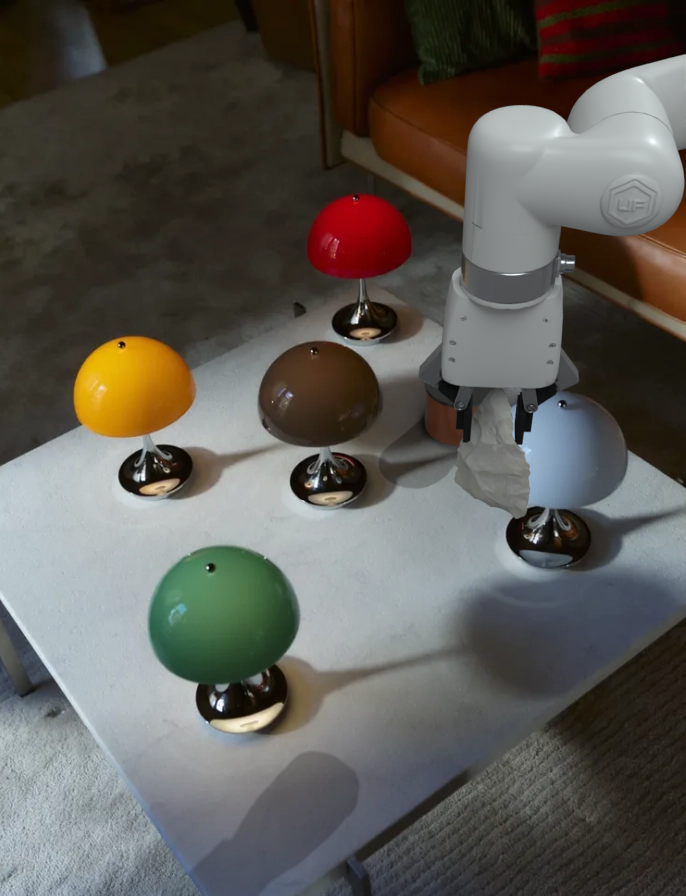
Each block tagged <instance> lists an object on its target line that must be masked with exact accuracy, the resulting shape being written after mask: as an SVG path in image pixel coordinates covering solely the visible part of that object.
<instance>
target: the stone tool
mask: <svg viewBox="0 0 686 896" xmlns="http://www.w3.org/2000/svg"><path fill="white" fill-rule="evenodd" d="M513 418H514V417H513V413H512V406H511V404H510V403H509V400H508V396H507V395H506V393H505V390H504V388H495V389H493V390H491V391H490V392H489V393H488V394H487V396H486V397H485V399H484V400H483V401H482V403H481V404H480V405H479V406H478V408H477V409H476V411H475V413H474V416H473V418H472V424H471V438H470V441H468V443H463V438H462V440H461V441H460V446H458V448H457V449H456V451H457V454H456V456H457V459H456V464H455V466H456V468H457V470H456V471H455V473H454V477H453V479H454V482H455V484H456V485H457V486H459V487H460V488H461V489H462V490H463V491H464V492H466V493H467V494H468V495H469V496H471V497H472V498H473V499H475V500H478V501H480V502H482V503H484V504H486V505H487V506H488V507H490V508H497V509H500V510H503V511H505V512H506V513H509V514H510V515H511V516H512V517H513V518H514V519H515V520H516V519H517V520H518V519H520V518H523V517H525V516H526V515H527V511H528V503H529V500H530V493H531V487H530V479H529V477H530V475H531V469H530V468H531V465H530V463H528V461H527V458H526V451H524V450H523V449H522V447H520V445H517V443H516V442H515V437H514V436H513V433H514V422H513V421H514V419H513Z"/></svg>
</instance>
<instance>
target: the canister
mask: <svg viewBox="0 0 686 896" xmlns="http://www.w3.org/2000/svg"><path fill="white" fill-rule="evenodd" d="M440 370H442V369H440ZM424 389H425V397H424V398H425V401H424V428H425V431H426V432H427V433H428V435H429V436H430V437H431V438H432V439H434V440H436V441H438V442H439V443H442V444H445V445H449V446H456V447H460V441H461V440H462V438H463V430H458V429H456V415H457V409H455V408H454V403H453V402H452V401H450V400H449V399H448V398H447V397H445V396H444V395H443V394H442V393H441V392H439V390H438V388H436V387H433V386H431V385H429V384H428V383H426V382H424ZM493 389H495V387H474V389H473V391H472V393H473V405H472V418H473V416H474V413H475V411H476V409H477V408H478V406H479V405H480V404H481V403H482V401H483V400H484V399H485V397H486V396H487V394H488V393H489V392H490V391H491V390H493Z"/></svg>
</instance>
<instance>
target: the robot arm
mask: <svg viewBox="0 0 686 896" xmlns="http://www.w3.org/2000/svg"><path fill="white" fill-rule="evenodd" d="M467 139H468V140H467V148H466V167H465V168H466V169H465V184H464V185H465V188H464V208H463V224H462V225H463V226H462V240H461V241H462V243H461V246H462V247H461V262H460V263H461V265H460V266H459V267H458V268H457V269H455V270H454V271H453V273H452V275H451V278H450V281H449V285H448V289H447V294H446V298H445V299H446V300H445V306H444V315H443V325H442V334H441V342H440V344H439V345H437V346H436V348H435V349H434V350H433V351H432V352H431V354H430V355H429V356H427V357H426V359H425V360H423V362H422V363H421V364H420V365H419V369H418V379H419V380H421V381H423V382H424V383H425V382H426V383H428V384H429V385H431V386H433V387H436V388H438V390H439V392H441V393H442V394H443V395H444V396H445V397H447V398H448V399H449V400H450V401H452V402H453V403H454V408H455V409H457V415H456V429H458V430H463V443H468V441H470V438H471V424H472V405H473V393H472V391H473V389H474V387H495V388H503V389H520V390H521V391H519V394H517V397H516V405H515V415H514V422H513V433H514V440H515V442H516V443H517V445H518V446H523V443H524V435H525V433H531V432H532V428H533V427H532V426H533V419H534V413H536V412H537V411H538V410H539V406H541V405H542V404H544V403H545V402H547V401H549V400H550V399H552V398H553V397H555V396H556V395H557V393H558V392H562V391H564V390H567V389H569V388H571V387H574V386H576V385H577V384H579V382H580V376H579V375H580V374H579V370H578V368H577V367H576V366H575V364H574V363H573V361H572V360H571V359H570V357H569V356H568V354H567V353H566V352H565V350H564V349H563V347H562V338H563V337H562V336H563V322H564V321H563V319H564V313H563V311H564V308H563V306H564V289H563V280H562V275H564V274H565V273H574V272H575V267H576V255H573V254H566V253H562V252H561V248H560V249H559V247H560V246H559V245H560V239H561V229H562V227H565V228H569V229H574V230H580V231H585V232H589V233H593V234H594V233H595V234H598V235H599V234H600V235H605V236H614V237H632V236H633V237H635V236H639V235H643V234H646V233H649V232H651V231H654V230H656V229H658V228H660V227H661V226H662V225H664V224H665V223H666V222H668V220H669V219H671V217H673V215H674V214H675V212H676V211H677V209H679V205H680V204H681V202H682V199H683V196H684V191H685V174H684V168H683V163H682V160H681V157H680V153H679V151H680V150H681V151H682V150H685V149H686V53H685V54H681V55H677V56H674V57H668V58H665V59H661V60H657V61H654V62H650V63H646V64H642V65H639V66H634V67H631V68H629V69H628V68H627V69H625V70H622V71H619V72H617V73H615V74H612V75H610V76H608V77H605V78H603V79H601V80H600V81H598V82H596V83H594V84H593V85H592V86H591V87H589V88H588V89H586V90H585V92H583V94H582V95H580V96H579V98H578V99H577V100H576V102H575V103H574V105H573V106H572V107H571V110H570V113H569V115H568V118H567V120H566V119H564V118H563V117H562V116H561V115H559V114H558V113H556V112H555V111H553V110H551V109H548V108H544V107H541V106H536V105H528V104H525V105H523V104H521V105H520V104H519V105H518V104H517V105H508V106H502V107H498V108H495V109H493V110H490V111H488V112H487V113H484V114H483V115H482V116H480V117H479V118H478V119H477V121H475V123H474V124H473V125H472V128H471V129H470V132H469V134H468V138H467ZM440 369H442V370H440Z"/></svg>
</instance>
